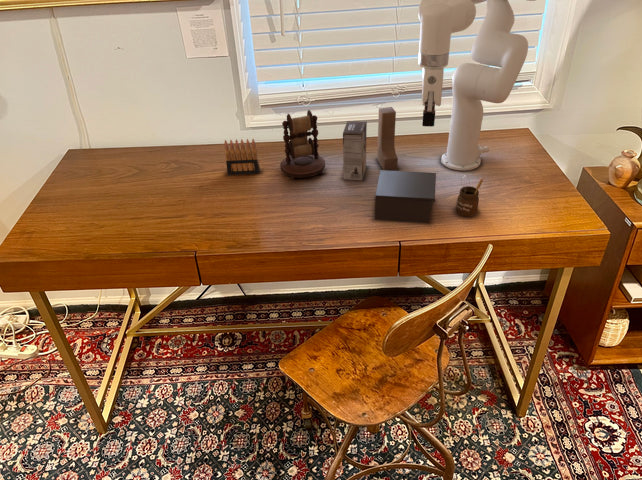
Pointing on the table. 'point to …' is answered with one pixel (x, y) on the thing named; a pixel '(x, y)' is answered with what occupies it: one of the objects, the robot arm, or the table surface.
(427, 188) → the lid
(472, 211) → the utensil holder
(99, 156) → the table surface
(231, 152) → the ammunition clip
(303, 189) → the table surface
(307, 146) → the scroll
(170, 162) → the table surface
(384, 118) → the wooden block
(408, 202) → the black box
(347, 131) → the coffee box
